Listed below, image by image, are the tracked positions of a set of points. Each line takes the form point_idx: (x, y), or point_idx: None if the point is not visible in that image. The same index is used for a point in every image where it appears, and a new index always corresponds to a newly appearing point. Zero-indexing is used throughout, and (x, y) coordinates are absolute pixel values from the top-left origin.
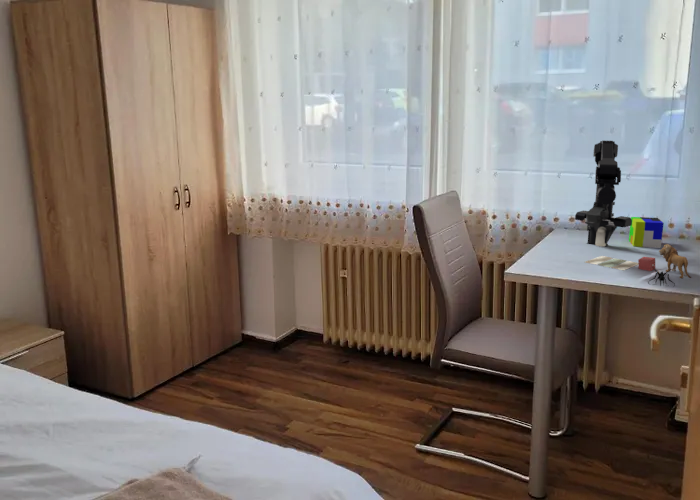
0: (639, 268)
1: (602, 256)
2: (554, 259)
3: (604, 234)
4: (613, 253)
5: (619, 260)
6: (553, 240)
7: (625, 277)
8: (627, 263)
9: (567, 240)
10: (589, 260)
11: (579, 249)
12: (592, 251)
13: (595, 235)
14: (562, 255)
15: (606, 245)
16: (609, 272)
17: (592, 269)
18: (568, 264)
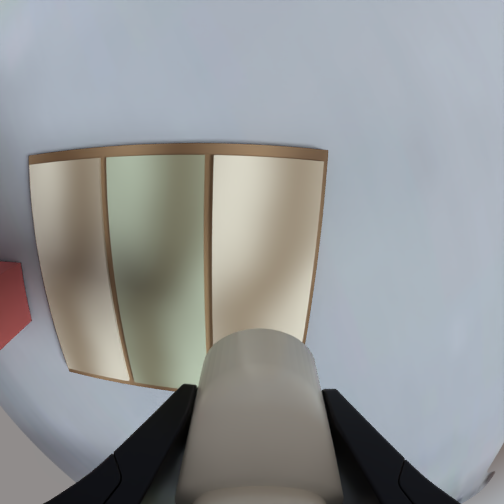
0: (10, 267)
1: None
2: (496, 160)
3: (185, 472)
4: None
5: (161, 365)
6: (500, 429)
7: (6, 88)
8: (96, 332)
9: (462, 458)
10: (311, 238)
11: (423, 422)
12: None
13: (341, 445)
14: (484, 280)
15: None
16: (88, 96)
17: (202, 69)
18: (397, 86)
